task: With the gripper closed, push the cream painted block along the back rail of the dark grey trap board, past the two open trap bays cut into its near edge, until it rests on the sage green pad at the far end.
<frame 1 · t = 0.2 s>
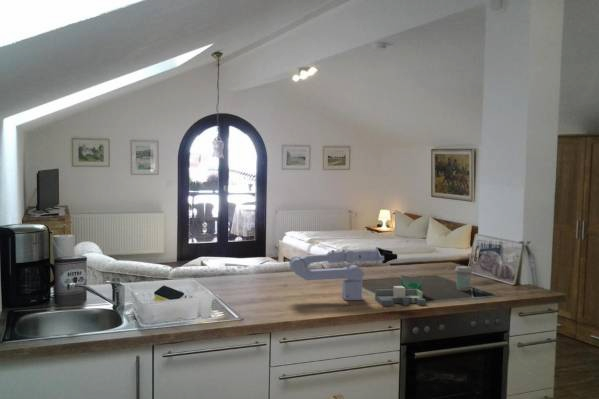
hand: (394, 254, 271), 21 cm above the countertop, tool horizontal, fingers open, 7 cm apart
trap board: (400, 302, 264), on the countertop
cream block: (398, 296, 266), point 2 cm above the countertop, touching trap board
coffee cup: (462, 290, 294), on the countertop
food container: (413, 295, 279), on the countertop
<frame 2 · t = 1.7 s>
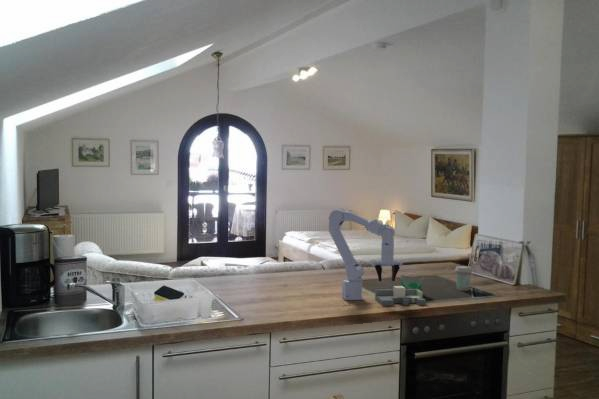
hand: (386, 280, 265), 10 cm above the countertop, tool pointing down, fingers open, 6 cm apart
nothing on the countertop moved.
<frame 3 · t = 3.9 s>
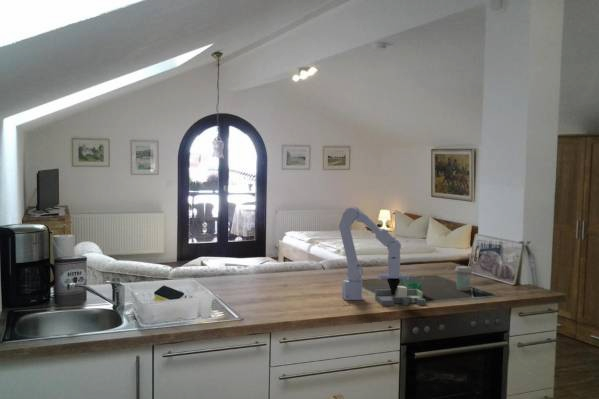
hand: (393, 294, 265), 3 cm above the countertop, tool pointing down, fingers closed
cream block: (400, 296, 266), point 2 cm above the countertop, touching gripper
everything else where it was.
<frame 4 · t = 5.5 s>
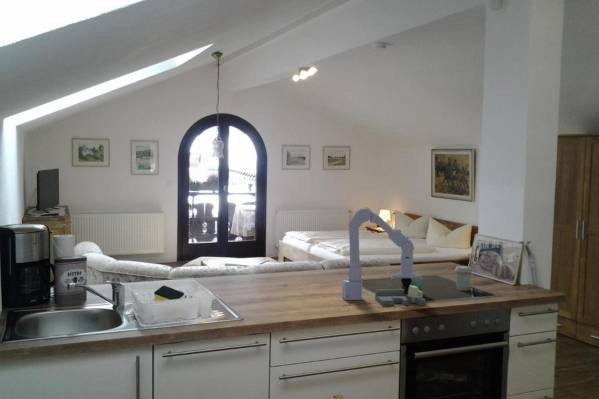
hand: (405, 294, 266), 3 cm above the countertop, tool pointing down, fingers closed, pressing on cream block
cream block: (411, 295, 267), point 3 cm above the countertop, tilted 6°, touching gripper, trap board
everything else where it was.
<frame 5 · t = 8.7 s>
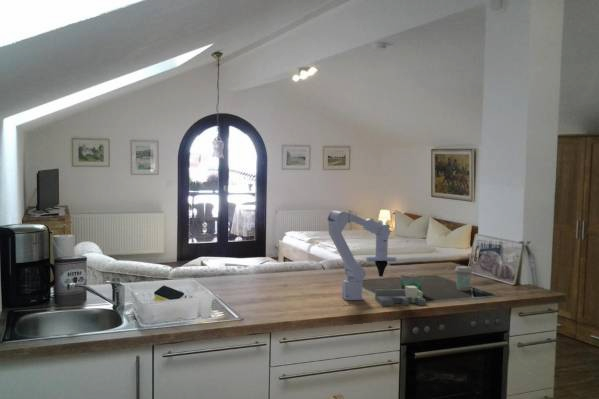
hand: (380, 276, 276), 10 cm above the countertop, tool pointing down, fingers closed
cream block: (410, 296, 267), point 2 cm above the countertop, touching trap board
everything else where it was.
at the end: cream block 1.1 cm from the target spot, point 2.4 cm above the countertop; cream block tilted 1° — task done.
